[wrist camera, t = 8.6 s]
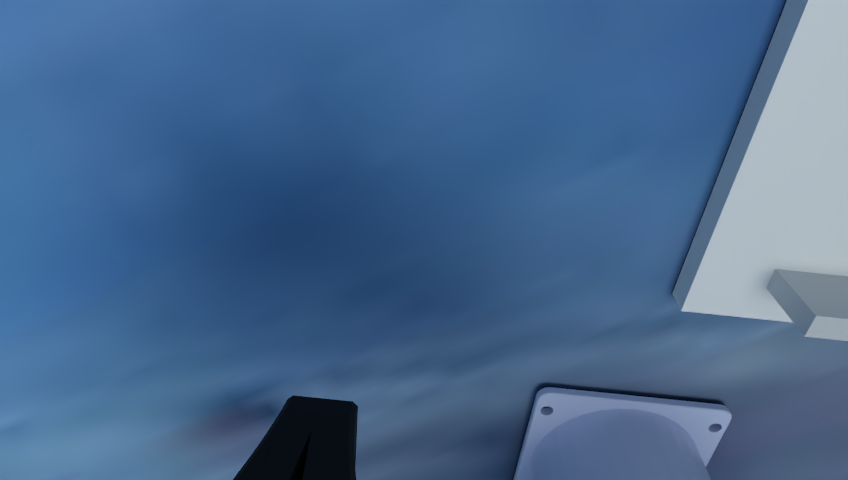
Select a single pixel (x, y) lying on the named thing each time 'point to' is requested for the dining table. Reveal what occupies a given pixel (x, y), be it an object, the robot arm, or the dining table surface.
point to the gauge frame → (783, 188)
